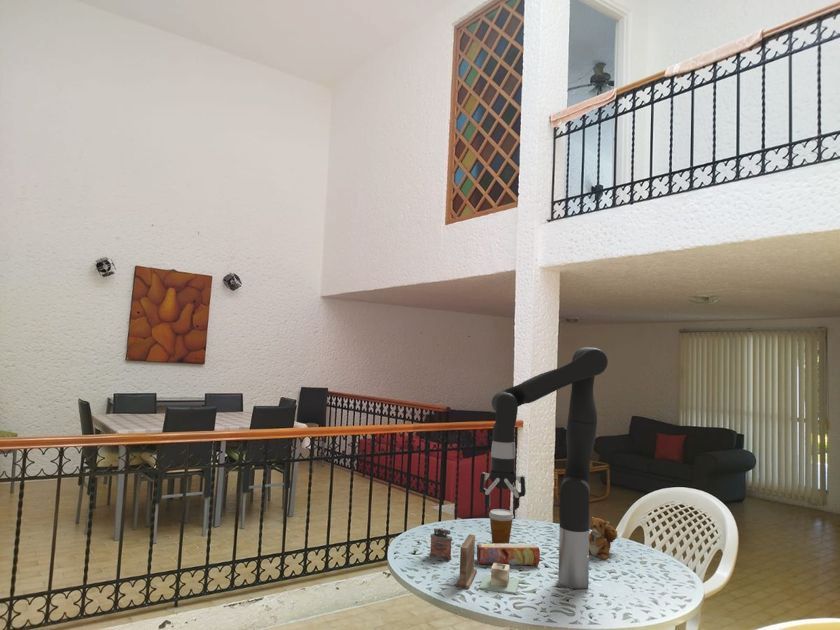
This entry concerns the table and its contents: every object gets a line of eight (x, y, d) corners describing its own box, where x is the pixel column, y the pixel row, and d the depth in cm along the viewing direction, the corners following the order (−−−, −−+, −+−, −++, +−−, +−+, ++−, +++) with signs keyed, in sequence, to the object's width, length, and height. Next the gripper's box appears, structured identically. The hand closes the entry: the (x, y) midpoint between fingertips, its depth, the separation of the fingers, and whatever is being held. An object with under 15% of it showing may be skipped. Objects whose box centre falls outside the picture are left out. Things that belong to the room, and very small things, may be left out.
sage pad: (519, 580, 179) (519, 579, 179) (515, 594, 168) (515, 592, 168) (485, 575, 182) (485, 574, 182) (479, 588, 171) (479, 587, 171)
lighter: (427, 556, 197) (429, 527, 198) (432, 554, 200) (433, 525, 201) (448, 561, 193) (449, 531, 194) (452, 558, 196) (453, 529, 197)
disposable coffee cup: (483, 541, 216) (484, 509, 217) (504, 539, 220) (504, 507, 221) (496, 549, 207) (497, 516, 208) (518, 547, 211) (519, 514, 212)
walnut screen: (476, 572, 184) (478, 535, 185) (468, 589, 170) (470, 548, 171) (464, 571, 185) (466, 533, 186) (455, 587, 171) (457, 546, 172)
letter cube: (509, 581, 176) (509, 564, 177) (507, 587, 172) (507, 570, 172) (493, 578, 178) (493, 562, 178) (490, 584, 173) (491, 567, 173)
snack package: (478, 566, 191) (479, 545, 191) (475, 559, 197) (476, 539, 198) (540, 567, 191) (540, 547, 192) (535, 560, 198) (536, 541, 198)
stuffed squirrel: (577, 553, 207) (578, 517, 208) (597, 546, 216) (597, 511, 217) (602, 561, 200) (602, 523, 201) (621, 553, 209) (621, 517, 210)
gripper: (527, 455, 179) (526, 507, 178) (482, 452, 183) (481, 502, 182) (524, 459, 172) (523, 513, 171) (479, 455, 176) (477, 508, 175)
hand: (502, 507), depth 177 cm, fingers open, 8 cm apart
